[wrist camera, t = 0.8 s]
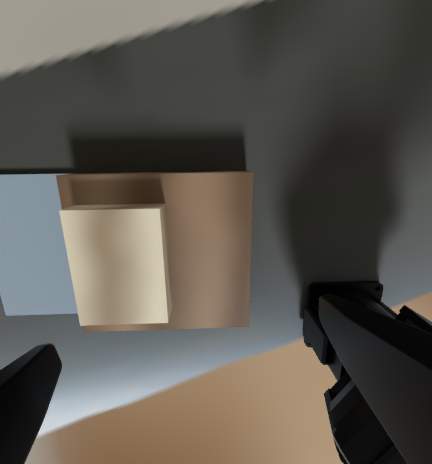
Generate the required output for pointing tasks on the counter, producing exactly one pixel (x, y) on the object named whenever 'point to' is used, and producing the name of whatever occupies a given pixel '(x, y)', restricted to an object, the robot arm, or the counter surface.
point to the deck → (187, 238)
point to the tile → (119, 263)
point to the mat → (33, 247)
